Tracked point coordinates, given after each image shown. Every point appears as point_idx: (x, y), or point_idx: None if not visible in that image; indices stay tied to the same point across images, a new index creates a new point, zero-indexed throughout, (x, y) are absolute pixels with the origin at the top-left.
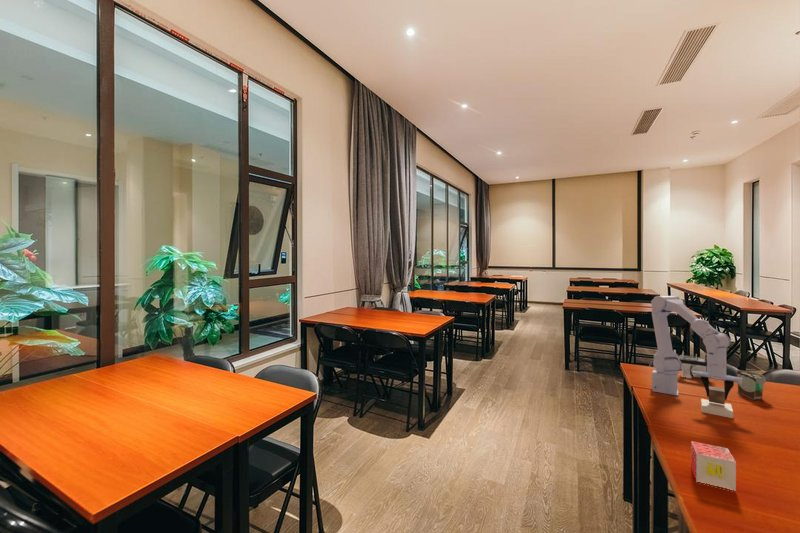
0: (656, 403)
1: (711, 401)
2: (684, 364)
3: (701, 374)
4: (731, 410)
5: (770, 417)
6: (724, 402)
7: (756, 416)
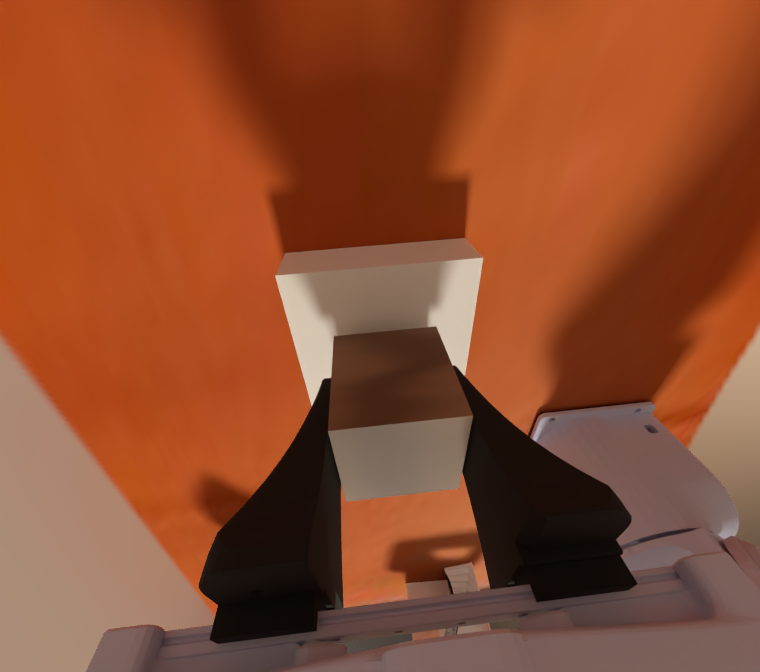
0: (748, 198)
1: (421, 331)
2: (472, 625)
3: (688, 647)
4: (289, 294)
5: (152, 407)
6: (335, 348)
7: (200, 379)
